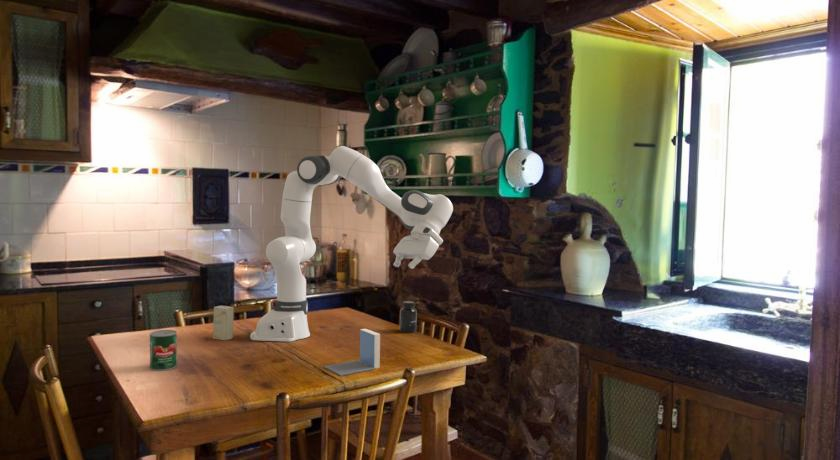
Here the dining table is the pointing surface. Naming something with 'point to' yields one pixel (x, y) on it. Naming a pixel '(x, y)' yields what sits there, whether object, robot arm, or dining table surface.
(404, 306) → the supplement bottle
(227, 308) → the skincare box
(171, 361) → the canned tomato
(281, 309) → the robot arm
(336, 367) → the mat
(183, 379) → the dining table surface
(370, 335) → the tile
